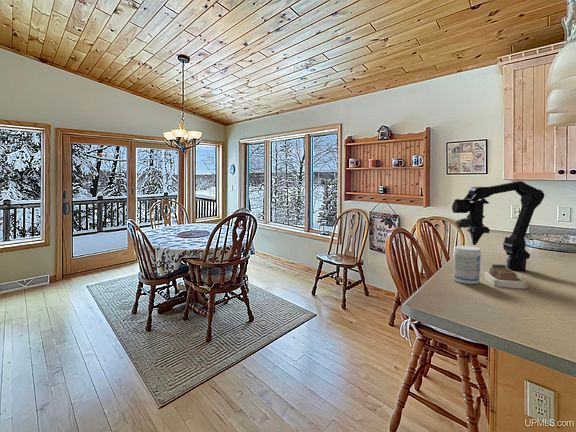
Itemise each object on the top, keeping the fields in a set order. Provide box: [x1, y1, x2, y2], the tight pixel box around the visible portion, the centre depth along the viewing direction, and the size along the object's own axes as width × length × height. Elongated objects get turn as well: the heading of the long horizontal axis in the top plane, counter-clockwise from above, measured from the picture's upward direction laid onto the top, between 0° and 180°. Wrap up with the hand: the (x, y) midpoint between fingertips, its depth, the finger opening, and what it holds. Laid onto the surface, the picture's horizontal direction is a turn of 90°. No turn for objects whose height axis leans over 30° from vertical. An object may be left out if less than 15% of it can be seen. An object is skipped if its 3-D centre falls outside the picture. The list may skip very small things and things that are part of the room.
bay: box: [483, 271, 529, 290], centre depth 125 cm, size 12×11×2 cm
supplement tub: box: [453, 245, 481, 285], centre depth 127 cm, size 10×10×15 cm
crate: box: [489, 263, 518, 281], centre depth 126 cm, size 9×6×7 cm, turn 169°
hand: (474, 244), depth 145 cm, fingers closed
